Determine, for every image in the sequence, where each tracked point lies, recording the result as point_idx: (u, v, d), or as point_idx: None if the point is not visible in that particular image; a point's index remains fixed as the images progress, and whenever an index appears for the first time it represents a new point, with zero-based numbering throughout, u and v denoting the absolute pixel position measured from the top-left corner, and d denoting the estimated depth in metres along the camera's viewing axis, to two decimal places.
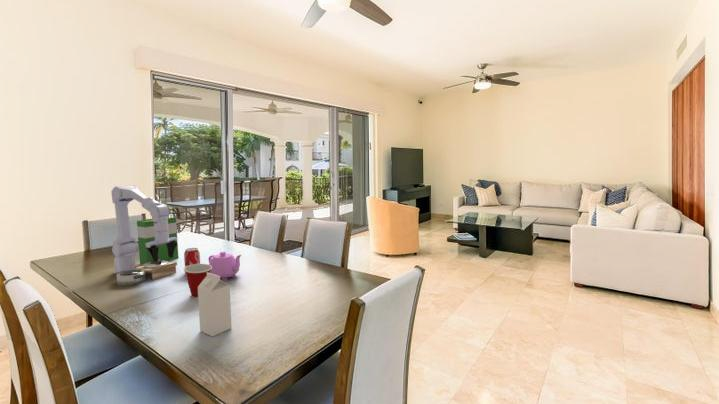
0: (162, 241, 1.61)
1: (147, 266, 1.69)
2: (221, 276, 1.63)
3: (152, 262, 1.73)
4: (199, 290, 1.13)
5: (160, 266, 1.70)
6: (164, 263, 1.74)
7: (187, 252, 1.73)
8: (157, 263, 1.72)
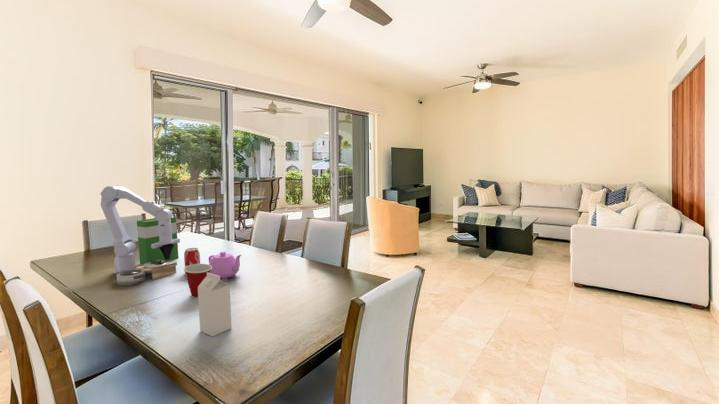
0: (166, 242, 1.75)
1: (147, 266, 1.69)
2: (221, 276, 1.63)
3: (152, 262, 1.73)
4: (199, 290, 1.13)
5: (160, 266, 1.70)
6: (164, 263, 1.74)
7: (187, 252, 1.73)
8: (157, 263, 1.72)
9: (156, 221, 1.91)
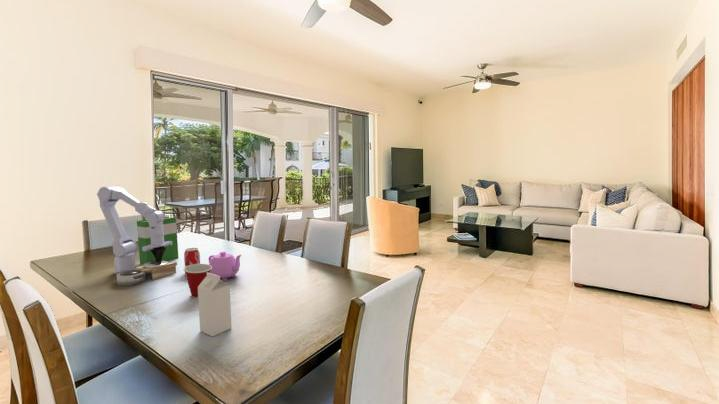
0: (158, 245, 1.71)
1: (147, 266, 1.69)
2: (221, 276, 1.63)
3: (152, 262, 1.73)
4: (199, 290, 1.13)
5: (160, 266, 1.70)
6: (164, 263, 1.74)
7: (187, 252, 1.73)
8: (157, 263, 1.72)
9: None
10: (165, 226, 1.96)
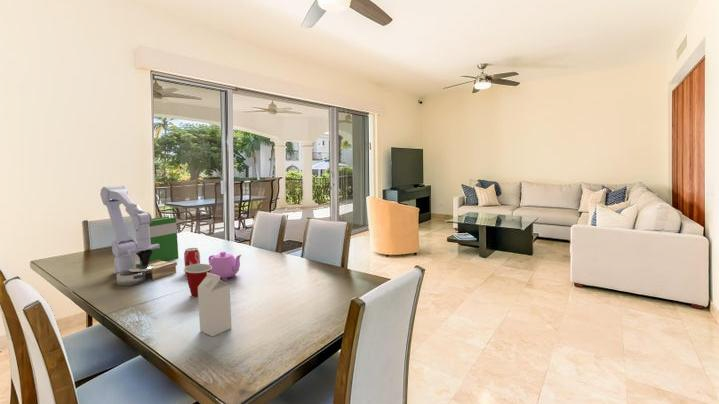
0: (144, 248, 1.65)
1: (132, 270, 1.62)
2: (221, 276, 1.63)
3: (138, 266, 1.67)
4: (199, 290, 1.13)
5: (146, 270, 1.64)
6: (150, 267, 1.67)
7: (187, 252, 1.73)
8: (143, 267, 1.65)
9: (156, 221, 1.91)
10: (165, 226, 1.96)
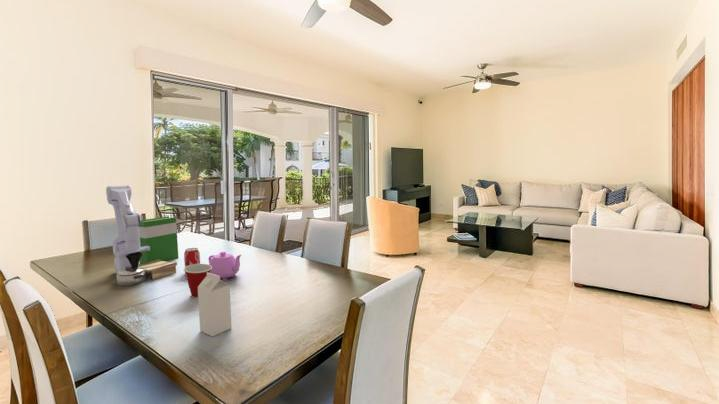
0: (133, 251, 1.61)
1: (121, 273, 1.58)
2: (221, 276, 1.63)
3: (127, 269, 1.62)
4: (199, 290, 1.13)
5: (135, 273, 1.59)
6: (140, 270, 1.63)
7: (187, 252, 1.73)
8: (132, 270, 1.61)
9: (156, 221, 1.91)
10: (165, 226, 1.96)
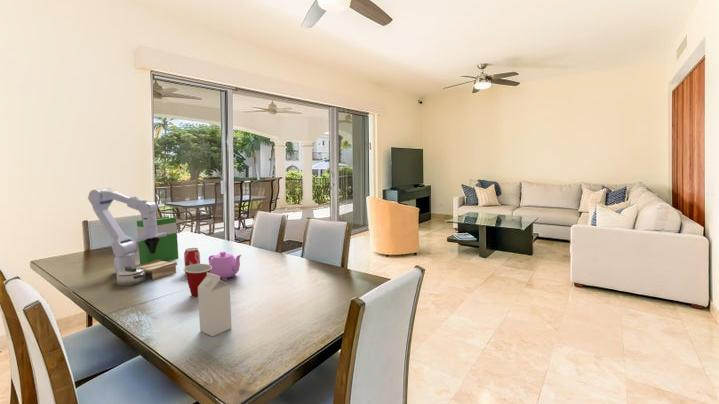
0: (151, 236, 1.70)
1: (120, 273, 1.58)
2: (221, 276, 1.63)
3: (126, 269, 1.62)
4: (199, 290, 1.13)
5: (134, 273, 1.59)
6: (139, 270, 1.63)
7: (187, 252, 1.73)
8: (132, 270, 1.61)
9: None
10: (165, 226, 1.96)
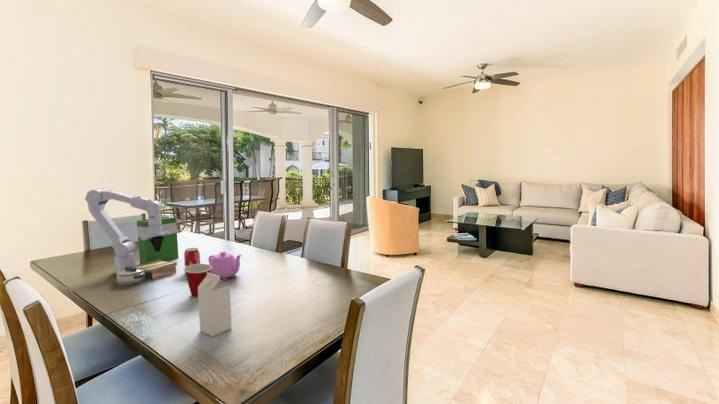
0: (156, 234, 1.74)
1: (120, 273, 1.58)
2: (221, 276, 1.63)
3: (126, 269, 1.62)
4: (199, 290, 1.13)
5: (134, 273, 1.59)
6: (139, 270, 1.63)
7: (187, 252, 1.73)
8: (132, 270, 1.61)
9: None
10: (165, 226, 1.96)
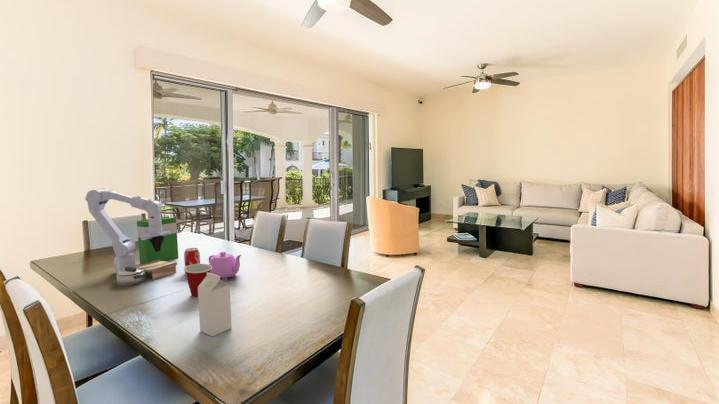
0: (156, 234, 1.74)
1: (120, 273, 1.58)
2: (221, 276, 1.63)
3: (126, 269, 1.62)
4: (199, 290, 1.13)
5: (134, 273, 1.59)
6: (139, 270, 1.63)
7: (187, 252, 1.73)
8: (132, 270, 1.61)
9: None
10: (165, 226, 1.96)
